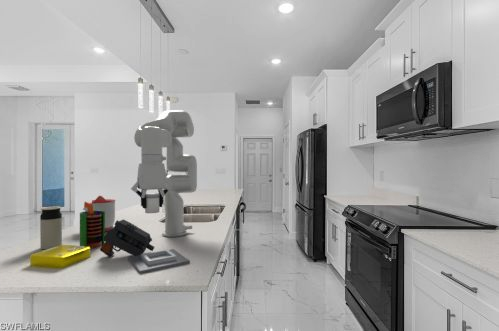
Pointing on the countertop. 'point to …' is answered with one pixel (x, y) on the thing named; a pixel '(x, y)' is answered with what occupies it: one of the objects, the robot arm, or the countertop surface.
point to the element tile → (59, 256)
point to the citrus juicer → (106, 206)
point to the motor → (92, 227)
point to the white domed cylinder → (152, 203)
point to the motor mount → (157, 260)
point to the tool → (126, 239)
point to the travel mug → (50, 227)
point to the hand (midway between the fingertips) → (152, 206)
